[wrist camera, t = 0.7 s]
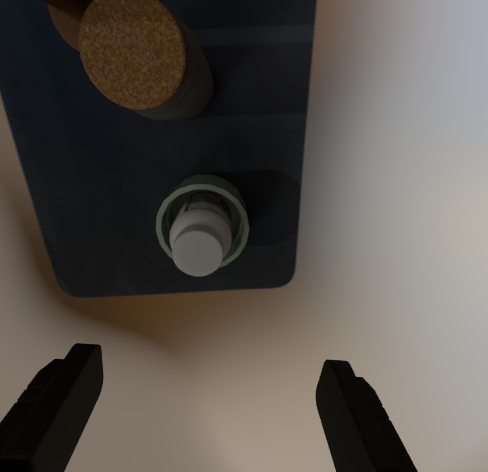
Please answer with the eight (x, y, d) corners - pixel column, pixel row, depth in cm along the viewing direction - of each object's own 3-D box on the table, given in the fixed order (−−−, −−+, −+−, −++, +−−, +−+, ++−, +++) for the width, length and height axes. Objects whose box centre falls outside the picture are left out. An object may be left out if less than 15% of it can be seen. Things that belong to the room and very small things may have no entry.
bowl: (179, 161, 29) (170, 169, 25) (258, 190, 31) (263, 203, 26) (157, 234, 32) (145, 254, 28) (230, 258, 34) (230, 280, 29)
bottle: (190, 32, 25) (142, -66, 11) (226, 96, 27) (222, 78, 14) (136, 71, 26) (33, 24, 12) (175, 130, 28) (123, 146, 14)
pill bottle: (208, 246, 33) (201, 296, 24) (170, 215, 31) (147, 256, 22) (241, 212, 31) (246, 252, 22) (203, 179, 30) (192, 207, 21)
